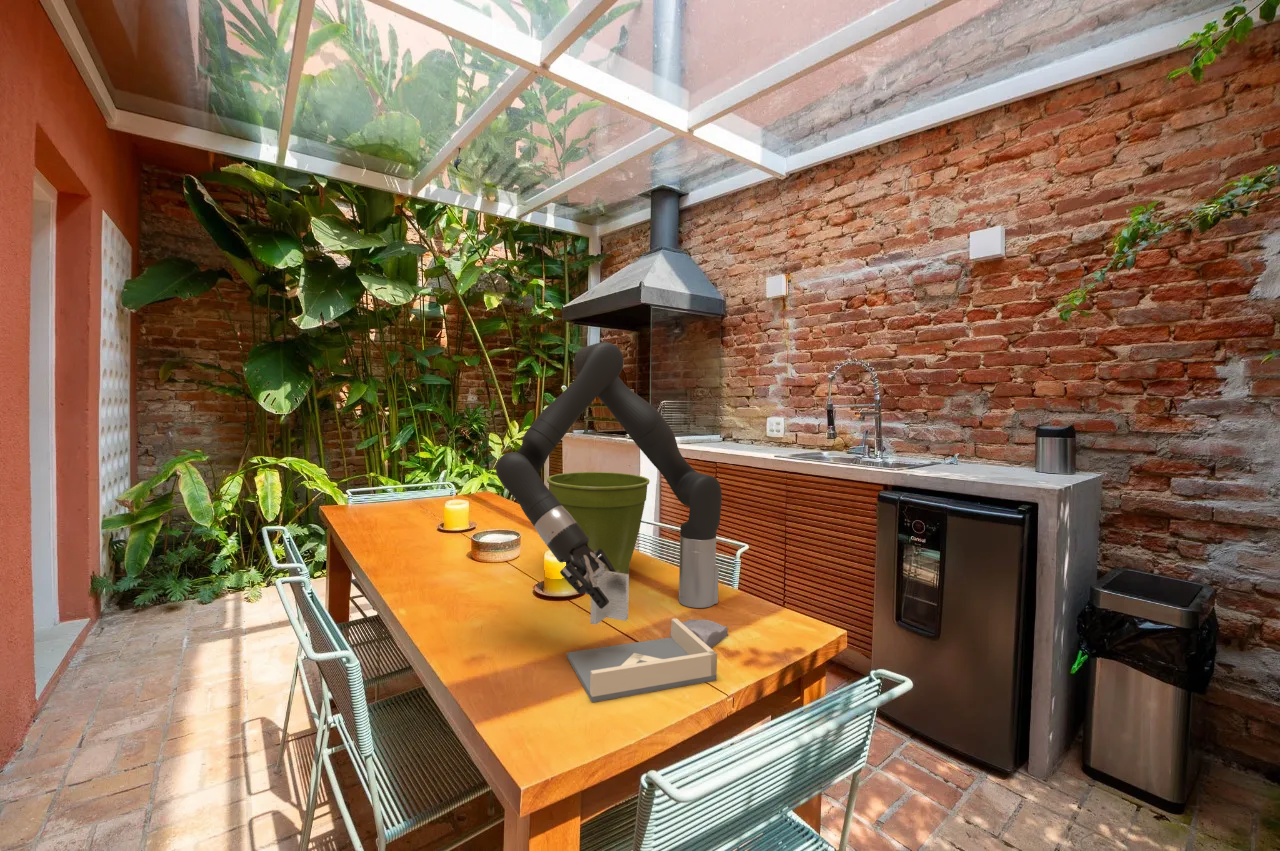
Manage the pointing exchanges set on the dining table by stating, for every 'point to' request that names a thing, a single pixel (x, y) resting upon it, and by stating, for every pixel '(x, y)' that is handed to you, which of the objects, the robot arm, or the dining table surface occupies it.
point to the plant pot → (604, 510)
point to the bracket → (611, 596)
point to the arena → (645, 665)
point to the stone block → (707, 631)
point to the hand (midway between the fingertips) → (612, 600)
